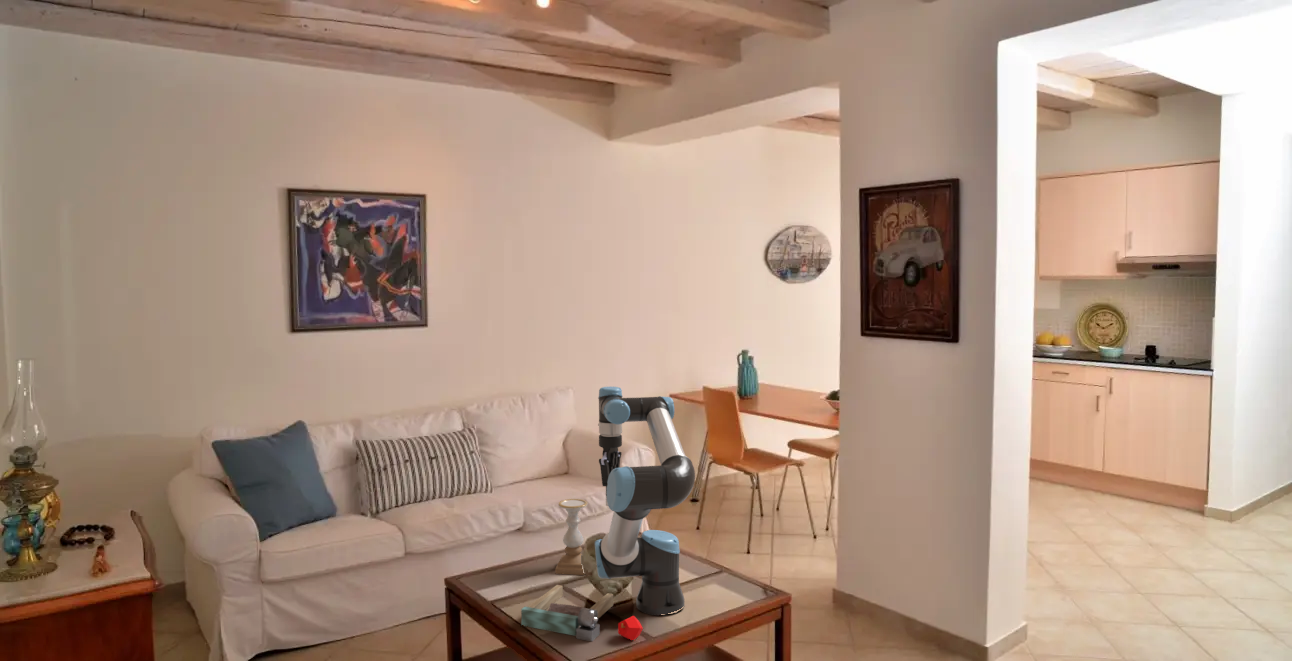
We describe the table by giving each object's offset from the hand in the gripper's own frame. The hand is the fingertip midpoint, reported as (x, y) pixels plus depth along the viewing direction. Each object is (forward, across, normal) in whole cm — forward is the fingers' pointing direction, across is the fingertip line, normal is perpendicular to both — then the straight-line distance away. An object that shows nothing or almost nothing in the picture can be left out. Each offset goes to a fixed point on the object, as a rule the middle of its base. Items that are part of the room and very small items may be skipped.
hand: (610, 505), depth 272 cm
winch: (+28, +34, +8) cm, 45 cm away
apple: (+29, +30, +20) cm, 46 cm away
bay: (+28, +23, -4) cm, 37 cm away
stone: (+29, +27, -3) cm, 40 cm away
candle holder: (+29, -12, -20) cm, 37 cm away
